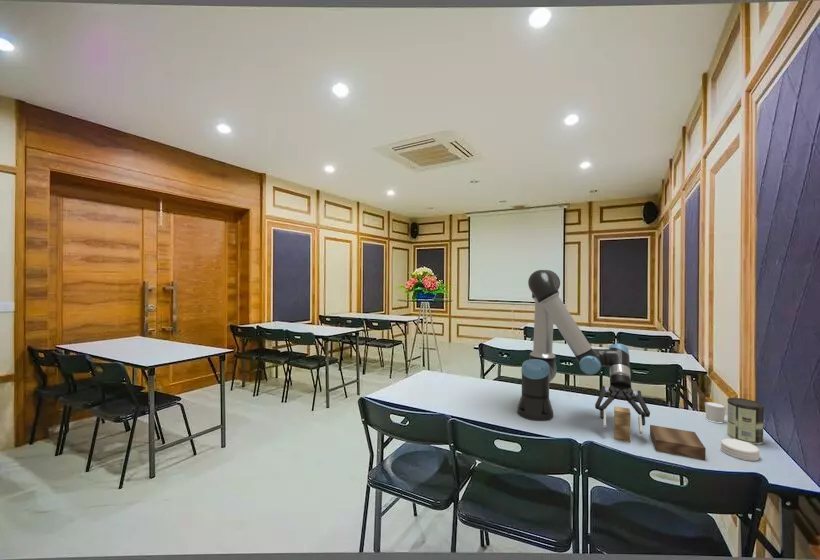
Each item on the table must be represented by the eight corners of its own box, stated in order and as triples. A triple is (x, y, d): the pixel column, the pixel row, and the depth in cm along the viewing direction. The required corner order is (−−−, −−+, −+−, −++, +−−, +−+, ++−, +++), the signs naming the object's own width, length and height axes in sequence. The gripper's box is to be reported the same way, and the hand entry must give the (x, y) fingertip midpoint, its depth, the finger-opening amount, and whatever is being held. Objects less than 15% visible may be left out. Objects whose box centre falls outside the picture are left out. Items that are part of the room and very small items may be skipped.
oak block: (614, 439, 136) (615, 410, 136) (614, 434, 141) (614, 406, 140) (630, 442, 134) (630, 413, 134) (628, 436, 138) (629, 408, 138)
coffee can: (750, 433, 141) (751, 398, 141) (770, 446, 131) (771, 408, 131) (720, 431, 143) (720, 396, 143) (738, 443, 133) (739, 405, 133)
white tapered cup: (703, 420, 153) (704, 404, 153) (705, 416, 158) (705, 400, 158) (725, 425, 149) (725, 408, 148) (725, 420, 154) (726, 404, 154)
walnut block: (655, 450, 127) (655, 439, 127) (649, 434, 140) (650, 424, 140) (705, 460, 121) (705, 448, 121) (694, 442, 133) (694, 432, 133)
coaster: (713, 449, 129) (713, 439, 129) (734, 446, 131) (734, 436, 131) (744, 463, 119) (745, 453, 119) (767, 460, 122) (767, 449, 122)
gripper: (652, 386, 145) (658, 440, 132) (588, 379, 156) (587, 427, 142) (655, 377, 140) (661, 431, 127) (588, 369, 151) (587, 419, 137)
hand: (622, 429), depth 135 cm, fingers open, 11 cm apart
